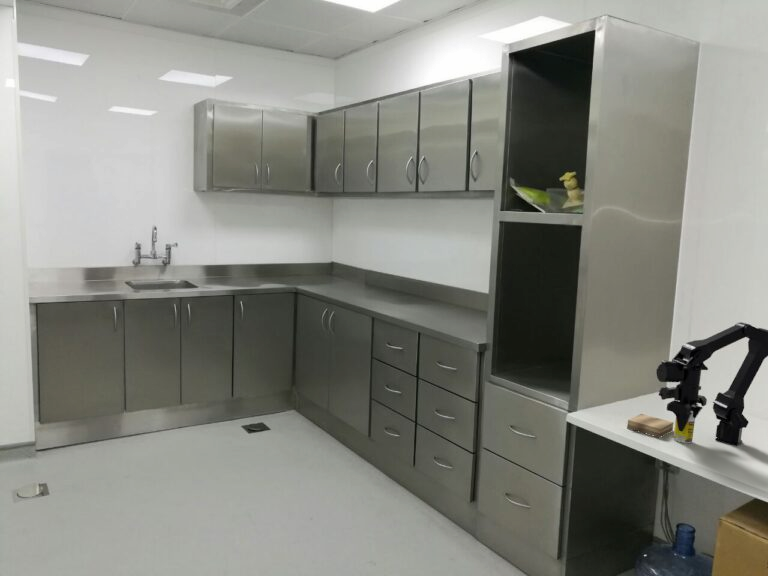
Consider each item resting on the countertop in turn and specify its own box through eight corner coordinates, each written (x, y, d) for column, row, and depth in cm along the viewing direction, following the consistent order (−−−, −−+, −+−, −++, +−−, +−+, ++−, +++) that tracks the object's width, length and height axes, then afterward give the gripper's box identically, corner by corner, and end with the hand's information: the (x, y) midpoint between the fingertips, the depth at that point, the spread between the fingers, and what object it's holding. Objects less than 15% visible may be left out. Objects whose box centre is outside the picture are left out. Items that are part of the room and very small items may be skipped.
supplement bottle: (688, 445, 202) (691, 414, 200) (670, 440, 206) (674, 409, 204) (694, 441, 205) (698, 411, 204) (677, 436, 209) (680, 406, 208)
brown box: (672, 430, 215) (673, 422, 215) (659, 437, 207) (660, 429, 207) (640, 422, 223) (641, 413, 222) (627, 428, 215) (628, 419, 214)
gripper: (675, 372, 215) (669, 416, 217) (653, 381, 202) (647, 427, 204) (709, 380, 208) (704, 426, 209) (689, 389, 194) (683, 438, 196)
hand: (684, 429), depth 205 cm, fingers closed on supplement bottle, 6 cm apart
